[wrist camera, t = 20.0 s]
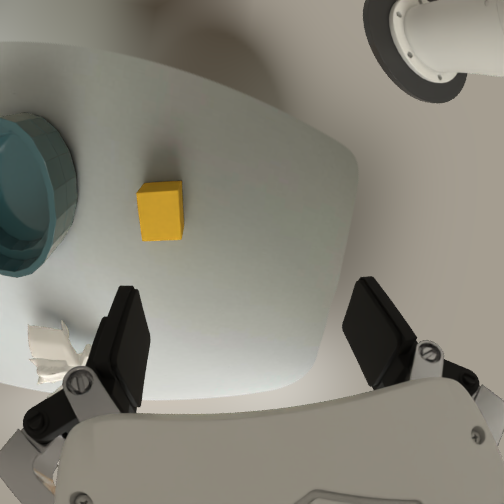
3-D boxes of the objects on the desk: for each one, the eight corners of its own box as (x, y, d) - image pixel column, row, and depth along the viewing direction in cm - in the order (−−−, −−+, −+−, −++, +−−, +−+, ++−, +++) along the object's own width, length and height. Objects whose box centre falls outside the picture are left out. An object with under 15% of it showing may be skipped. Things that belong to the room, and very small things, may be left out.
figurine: (101, 307, 42) (31, 320, 35) (96, 311, 32) (9, 327, 25) (125, 388, 41) (57, 400, 34) (128, 413, 31) (44, 427, 24)
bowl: (12, 86, 17) (-19, 88, 12) (108, 169, 25) (85, 185, 20) (-32, 201, 22) (-57, 219, 17) (46, 275, 29) (28, 302, 24)
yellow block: (148, 227, 29) (142, 241, 26) (144, 182, 26) (136, 192, 23) (184, 225, 30) (181, 240, 26) (181, 180, 27) (178, 190, 24)
